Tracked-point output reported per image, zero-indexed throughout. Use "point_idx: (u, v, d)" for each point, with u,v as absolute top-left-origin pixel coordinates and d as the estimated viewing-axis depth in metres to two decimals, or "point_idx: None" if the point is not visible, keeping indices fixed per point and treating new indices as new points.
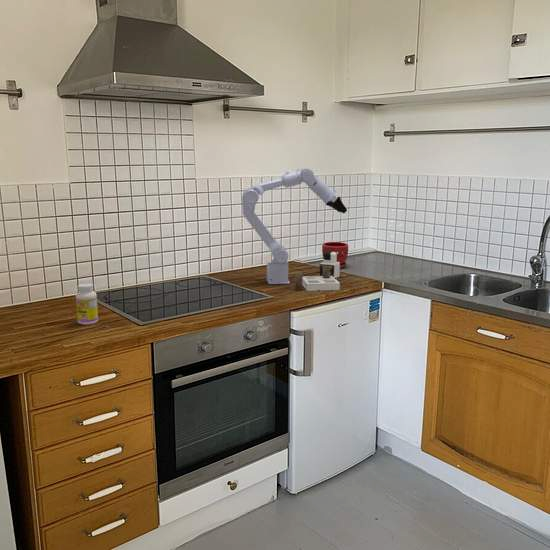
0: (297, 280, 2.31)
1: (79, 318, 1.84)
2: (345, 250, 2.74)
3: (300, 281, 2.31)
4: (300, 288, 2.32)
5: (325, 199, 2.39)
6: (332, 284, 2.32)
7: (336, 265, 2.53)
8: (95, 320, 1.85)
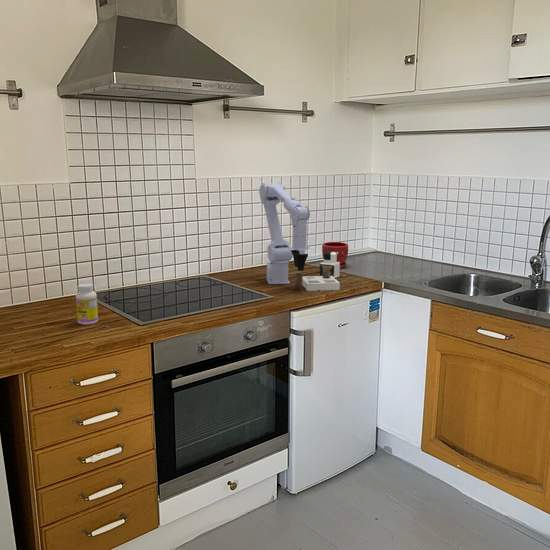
0: (297, 280, 2.31)
1: (79, 318, 1.84)
2: (345, 250, 2.74)
3: (300, 281, 2.31)
4: (300, 288, 2.32)
5: (295, 246, 2.27)
6: (332, 284, 2.32)
7: (336, 265, 2.53)
8: (95, 320, 1.85)
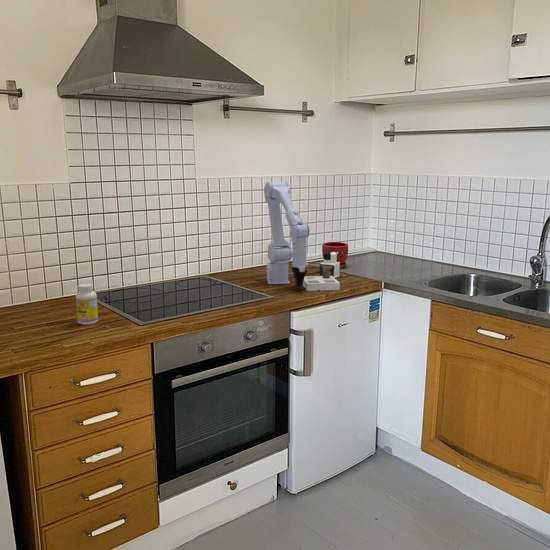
0: None
1: (79, 318, 1.84)
2: (345, 250, 2.74)
3: None
4: (300, 288, 2.32)
5: (295, 263, 2.28)
6: (332, 284, 2.32)
7: (336, 265, 2.53)
8: (95, 320, 1.85)
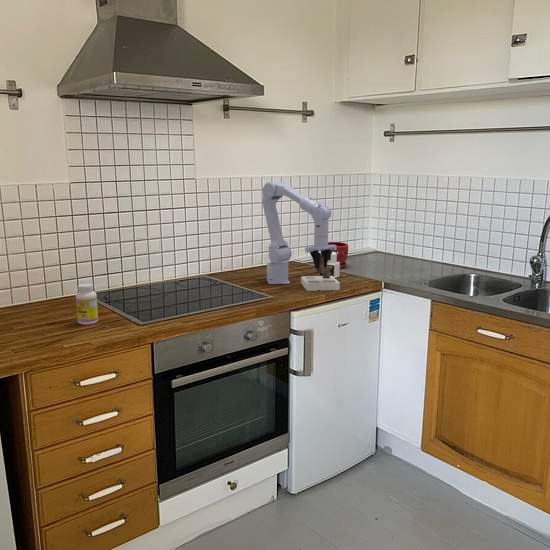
0: None
1: (79, 318, 1.84)
2: (345, 250, 2.74)
3: None
4: (318, 270, 2.32)
5: (314, 244, 2.32)
6: (332, 284, 2.32)
7: (336, 265, 2.53)
8: (95, 320, 1.85)
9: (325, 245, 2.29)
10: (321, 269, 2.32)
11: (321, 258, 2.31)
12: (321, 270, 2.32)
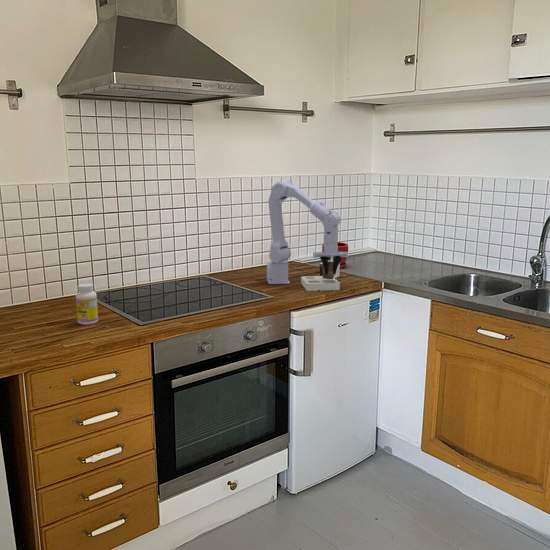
0: None
1: (79, 318, 1.84)
2: (345, 250, 2.74)
3: (327, 269, 2.34)
4: (327, 276, 2.34)
5: None
6: (332, 284, 2.32)
7: None
8: (95, 320, 1.85)
9: (332, 252, 2.30)
10: (329, 275, 2.34)
11: (329, 264, 2.33)
12: (329, 276, 2.34)
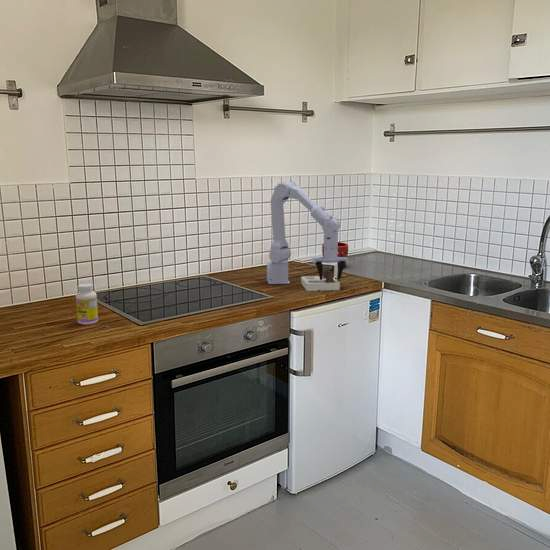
0: None
1: (79, 318, 1.84)
2: (345, 250, 2.74)
3: (327, 279, 2.35)
4: None
5: None
6: (332, 284, 2.32)
7: (336, 265, 2.53)
8: (95, 320, 1.85)
9: (332, 257, 2.31)
10: None
11: (329, 274, 2.34)
12: None
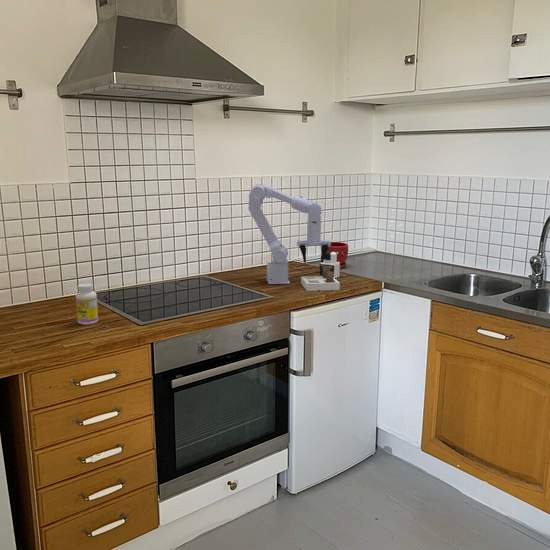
0: None
1: (79, 318, 1.84)
2: (345, 250, 2.74)
3: (327, 279, 2.35)
4: None
5: None
6: (332, 284, 2.32)
7: (336, 265, 2.53)
8: (95, 320, 1.85)
9: (315, 240, 2.39)
10: None
11: (329, 274, 2.34)
12: None
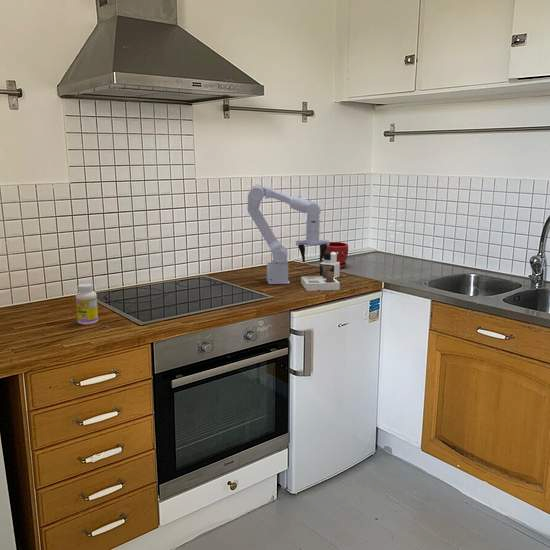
0: None
1: (79, 318, 1.84)
2: (345, 250, 2.74)
3: (327, 279, 2.35)
4: None
5: None
6: (332, 284, 2.32)
7: (336, 265, 2.53)
8: (95, 320, 1.85)
9: (314, 240, 2.40)
10: None
11: (329, 274, 2.34)
12: None
